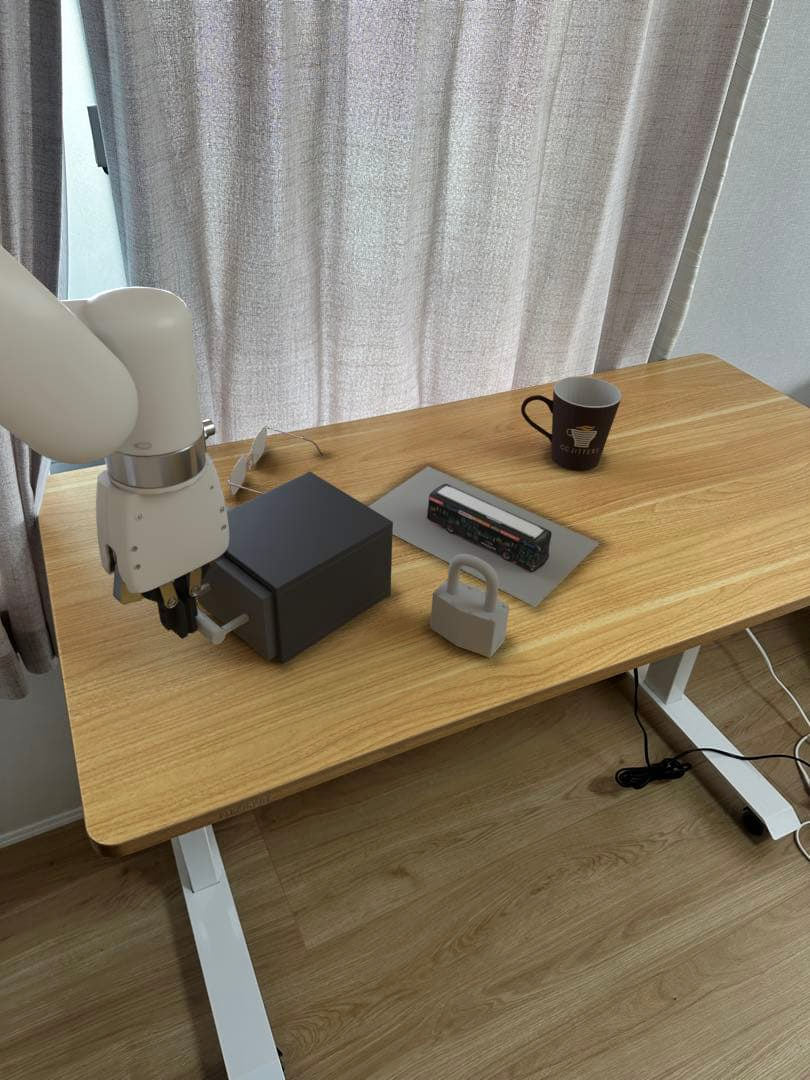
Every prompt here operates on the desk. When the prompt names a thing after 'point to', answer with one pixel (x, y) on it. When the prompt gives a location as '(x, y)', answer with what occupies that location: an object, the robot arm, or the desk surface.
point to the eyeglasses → (256, 452)
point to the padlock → (470, 609)
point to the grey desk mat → (484, 533)
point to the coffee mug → (579, 420)
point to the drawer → (237, 608)
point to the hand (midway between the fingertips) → (180, 627)
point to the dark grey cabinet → (312, 557)
